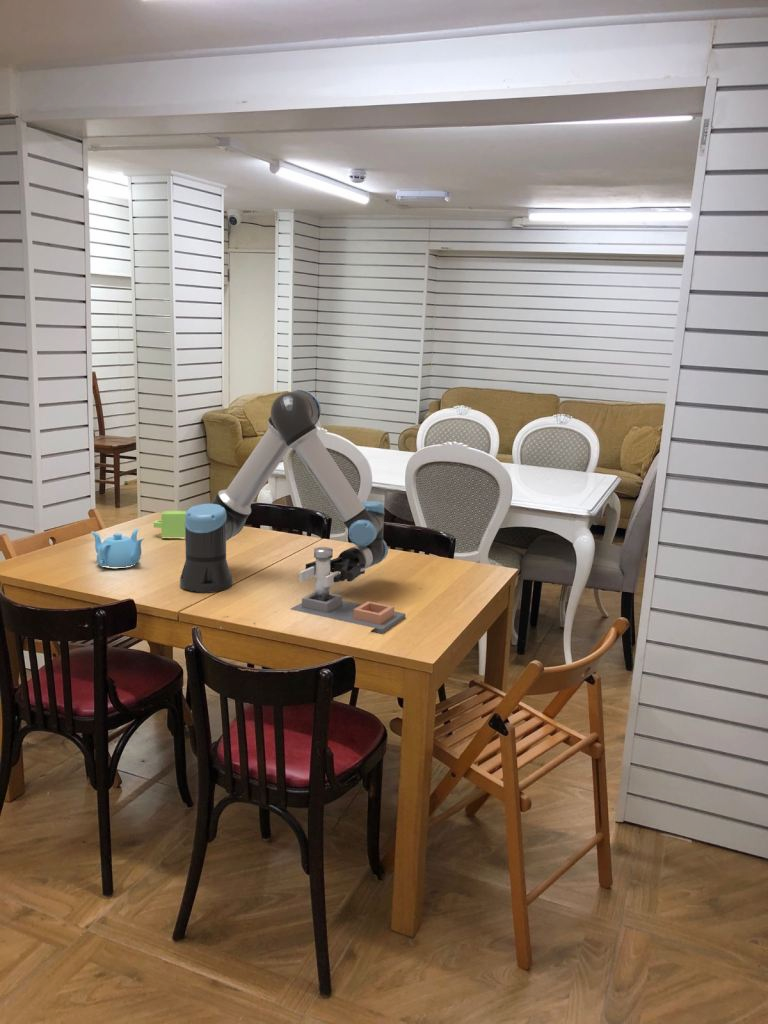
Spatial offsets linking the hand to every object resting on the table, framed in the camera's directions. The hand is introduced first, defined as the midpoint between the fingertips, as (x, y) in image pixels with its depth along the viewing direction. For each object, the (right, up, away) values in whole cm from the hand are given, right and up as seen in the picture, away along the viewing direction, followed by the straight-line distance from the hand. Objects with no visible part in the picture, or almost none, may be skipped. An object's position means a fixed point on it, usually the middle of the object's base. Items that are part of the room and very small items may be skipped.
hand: (313, 579), depth 207 cm
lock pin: (+2, -8, +6) cm, 10 cm away
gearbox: (-56, +9, +78) cm, 97 cm away
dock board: (+9, -10, +3) cm, 14 cm away
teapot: (-65, +1, +41) cm, 77 cm away
